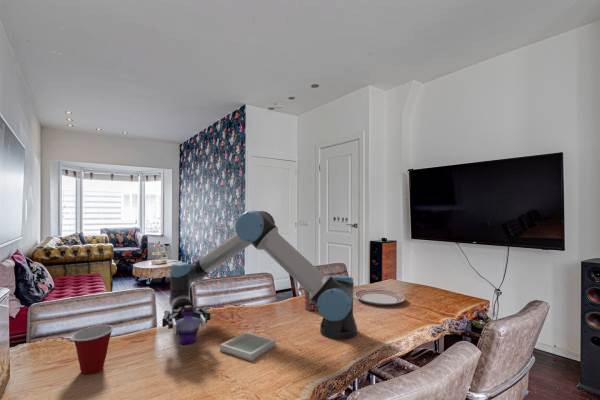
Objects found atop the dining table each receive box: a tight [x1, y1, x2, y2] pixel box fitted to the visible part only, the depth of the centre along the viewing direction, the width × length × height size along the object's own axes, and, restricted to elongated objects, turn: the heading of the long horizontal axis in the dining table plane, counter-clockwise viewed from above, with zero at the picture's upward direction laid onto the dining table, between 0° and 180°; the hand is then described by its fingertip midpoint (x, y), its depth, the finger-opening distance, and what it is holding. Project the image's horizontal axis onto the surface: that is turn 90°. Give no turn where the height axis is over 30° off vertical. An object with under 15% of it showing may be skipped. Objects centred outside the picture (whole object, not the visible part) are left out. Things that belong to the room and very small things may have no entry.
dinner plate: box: [354, 288, 406, 306], centre depth 179 cm, size 27×27×3 cm
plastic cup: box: [70, 324, 114, 376], centre depth 98 cm, size 11×11×12 cm
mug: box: [303, 287, 319, 312], centre depth 163 cm, size 13×9×14 cm
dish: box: [219, 331, 277, 362], centre depth 115 cm, size 14×14×2 cm
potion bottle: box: [175, 305, 201, 346], centre depth 108 cm, size 9×9×12 cm
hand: (189, 326), depth 104 cm, fingers closed on potion bottle, 8 cm apart
